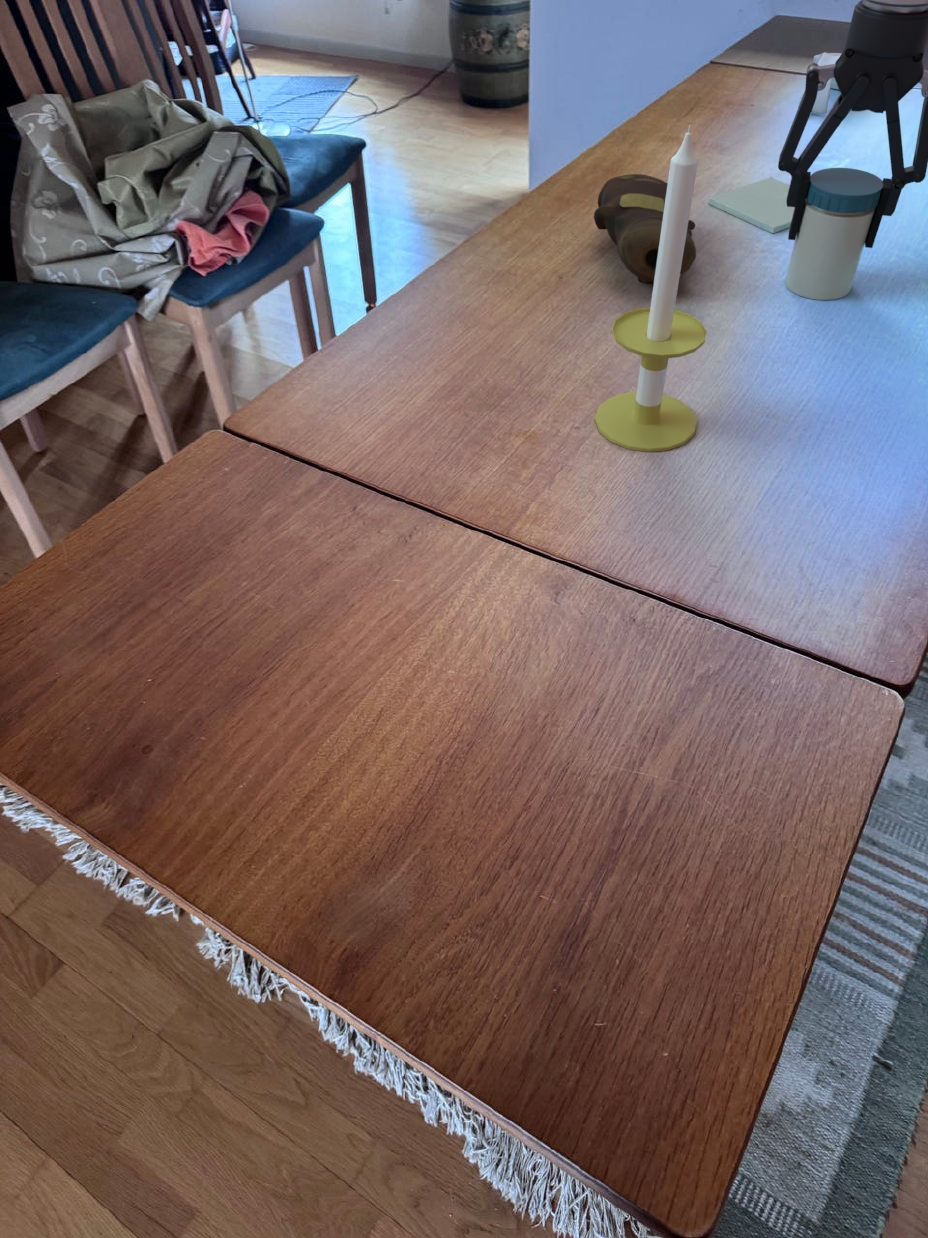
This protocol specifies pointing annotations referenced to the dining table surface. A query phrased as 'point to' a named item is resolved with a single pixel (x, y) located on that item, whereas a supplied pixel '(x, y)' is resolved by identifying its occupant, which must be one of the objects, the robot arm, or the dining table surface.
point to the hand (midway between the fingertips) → (830, 238)
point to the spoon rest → (824, 94)
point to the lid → (844, 190)
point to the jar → (826, 252)
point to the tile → (758, 204)
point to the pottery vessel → (638, 222)
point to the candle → (658, 333)
